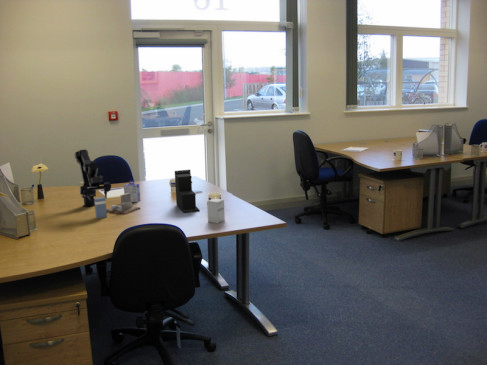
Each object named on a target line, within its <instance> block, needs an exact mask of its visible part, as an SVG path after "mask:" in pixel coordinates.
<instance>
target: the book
mask: <svg viewBox="0 0 487 365" xmlns="http://www.w3.org/2000/svg"><path fill="white" fill-rule="evenodd" d="M94 201H95V205H94V208H95V209H94V210H95V217H96V219H103V218H107V217H108V214H107V213H108V212H107V211H106V209H107V204H106V203H107V202H106V198H105V196H104V197H97V198H94Z"/></svg>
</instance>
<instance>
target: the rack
mask: <svg viewBox="0 0 487 365" xmlns="http://www.w3.org/2000/svg"><path fill="white" fill-rule="evenodd" d="M120 203H121V204H117V205H114V204H112V205H111V207H108V208H106V211H107V213H113V212H114V214H120V213H121V215H127V214H129V213H132V212H136V211H137V210H141V207H139V206H134V205H133V202H131V198H130V193H126V194H124V193H123V194H121V195H120ZM135 210H136V211H135Z"/></svg>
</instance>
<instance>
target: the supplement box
mask: <svg viewBox="0 0 487 365" xmlns="http://www.w3.org/2000/svg"><path fill="white" fill-rule="evenodd" d="M206 203H207V204H206V205H207V222H209V223H213V224H219V223H221V222H223V221H225V220H226V219H225V214H226V213H225V200H224V199H223V198H222V199H221V198H212V199H209V200H207V202H206Z"/></svg>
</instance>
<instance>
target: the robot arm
mask: <svg viewBox="0 0 487 365" xmlns="http://www.w3.org/2000/svg"><path fill="white" fill-rule="evenodd" d="M90 158H91V157H90V156H89V151H88V150H87V149H79V150H78V151H76V152H74V159H75V160H76V163H77V164H78V165H79V167H80V173H81V177H82V182H83V185H82V186H80V188H79V193H80V195H81V198H82V199H83V205H82V207H89V208H90V207H95V201H94V199H95V198H94V197H96V196H97V190H99V191H100V190H103V194H104V197H105V199H107V198H108V193H109V192H110V191H111V188H112V184H111V182H104V184H103V185H101V182H103V181H104V179H103V178H104V176H103V175H98V172H99V171H98V170H99V165H98V164H97V163H96V162H95V161H93V160H91V159H90ZM97 175H98V176H97Z"/></svg>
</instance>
